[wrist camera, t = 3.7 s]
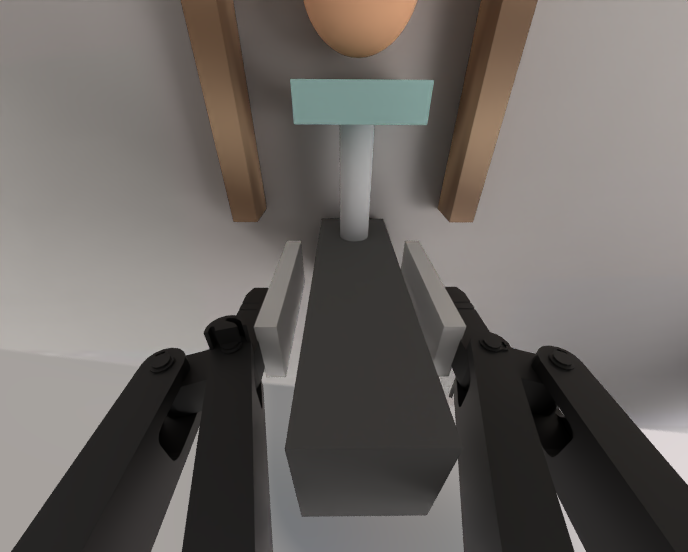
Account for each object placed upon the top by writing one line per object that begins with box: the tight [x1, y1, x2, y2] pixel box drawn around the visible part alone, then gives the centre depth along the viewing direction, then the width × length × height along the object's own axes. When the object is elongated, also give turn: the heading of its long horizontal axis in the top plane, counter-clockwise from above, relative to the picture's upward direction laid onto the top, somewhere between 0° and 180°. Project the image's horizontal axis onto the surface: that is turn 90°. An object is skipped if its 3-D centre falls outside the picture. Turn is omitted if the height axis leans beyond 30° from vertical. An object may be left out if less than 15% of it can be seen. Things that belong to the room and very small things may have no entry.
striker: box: [285, 79, 463, 517], centre depth 10 cm, size 10×4×12 cm, turn 0°
